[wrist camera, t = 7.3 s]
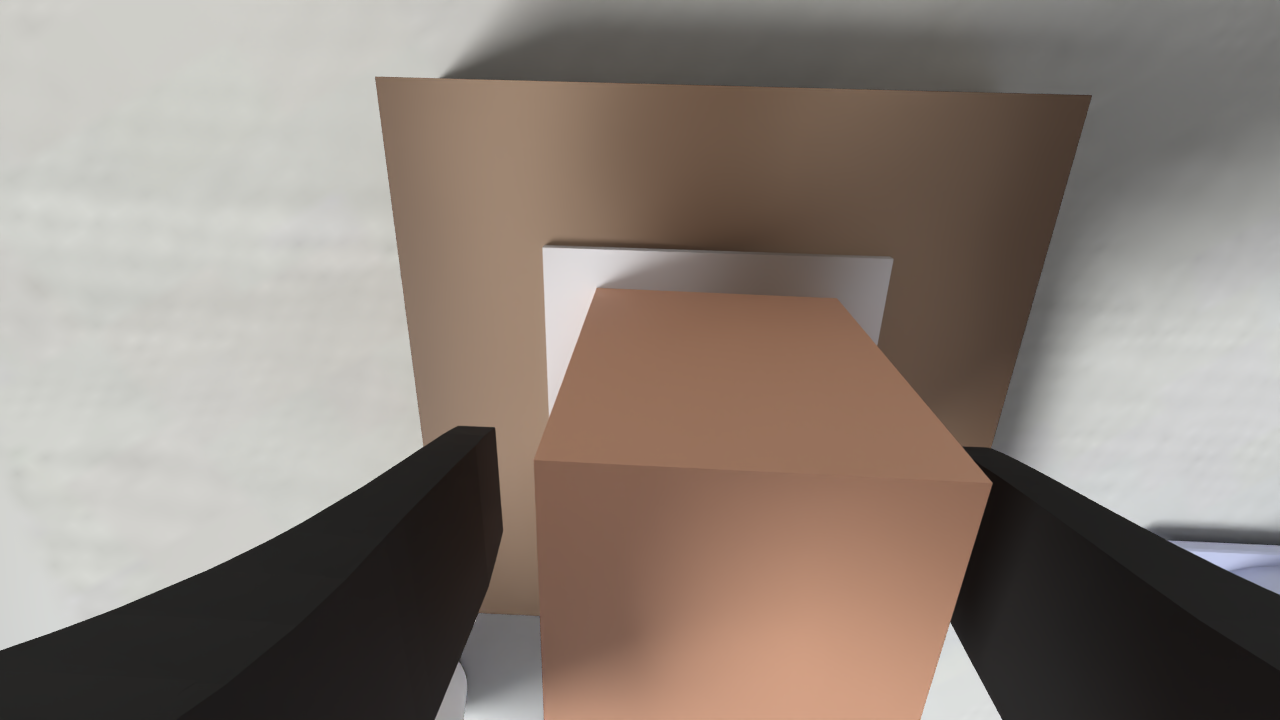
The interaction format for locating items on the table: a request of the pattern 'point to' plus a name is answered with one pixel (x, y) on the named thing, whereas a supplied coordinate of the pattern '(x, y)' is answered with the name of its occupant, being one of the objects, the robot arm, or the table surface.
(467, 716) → the table surface
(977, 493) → the terracotta cube
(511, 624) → the table surface
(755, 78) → the table surface
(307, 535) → the robot arm
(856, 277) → the walnut pedestal
